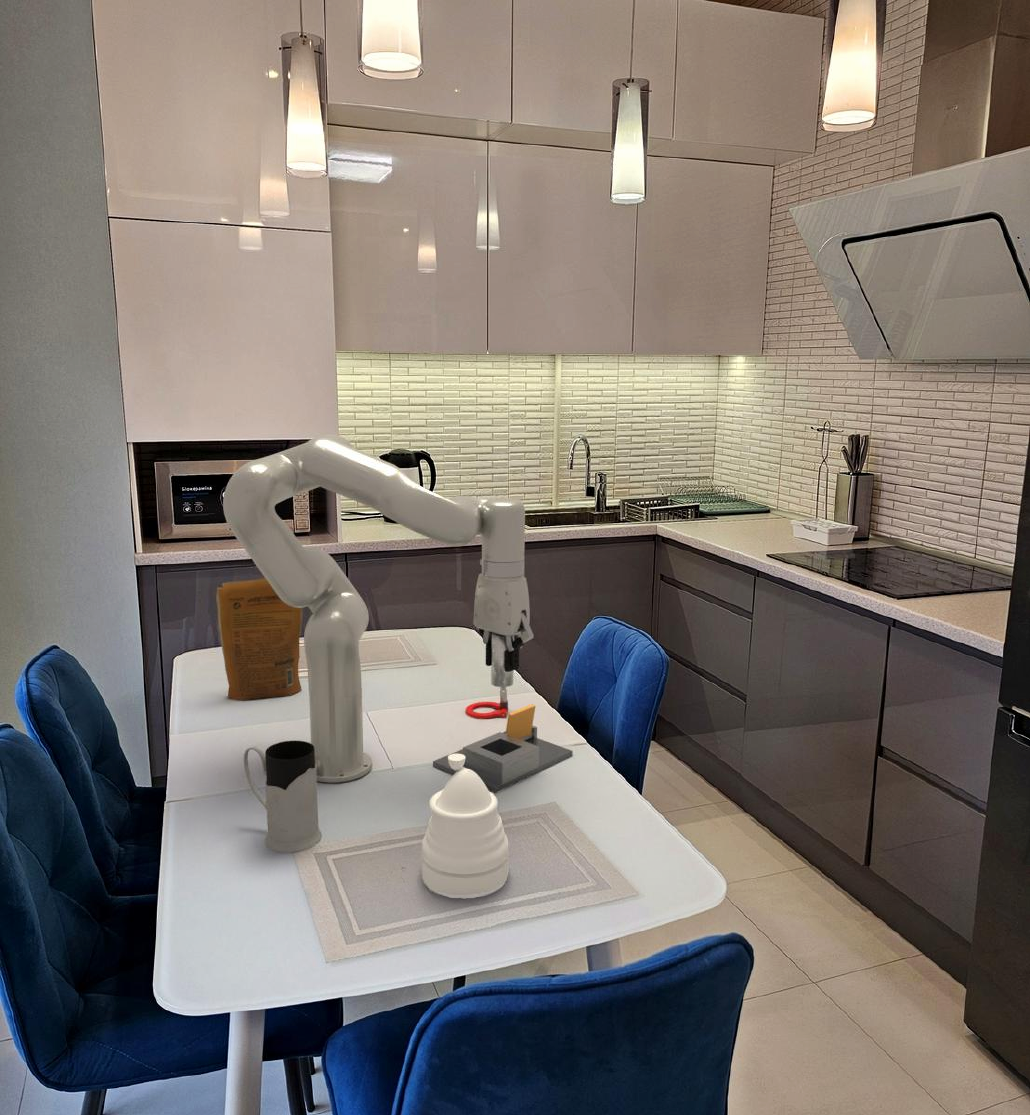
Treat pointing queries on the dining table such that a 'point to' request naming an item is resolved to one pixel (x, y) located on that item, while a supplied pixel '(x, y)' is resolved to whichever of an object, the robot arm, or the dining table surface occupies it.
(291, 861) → the dining table surface
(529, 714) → the tab
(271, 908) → the dining table surface
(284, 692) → the pancake mix bag
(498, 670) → the pin
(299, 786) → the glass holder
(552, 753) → the plate
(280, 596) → the robot arm
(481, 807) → the honey pot
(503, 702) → the tow hook
